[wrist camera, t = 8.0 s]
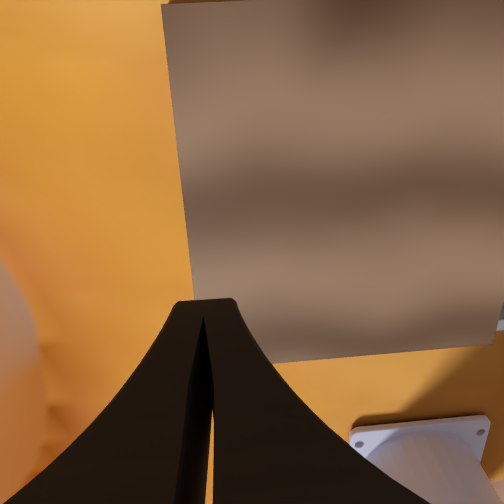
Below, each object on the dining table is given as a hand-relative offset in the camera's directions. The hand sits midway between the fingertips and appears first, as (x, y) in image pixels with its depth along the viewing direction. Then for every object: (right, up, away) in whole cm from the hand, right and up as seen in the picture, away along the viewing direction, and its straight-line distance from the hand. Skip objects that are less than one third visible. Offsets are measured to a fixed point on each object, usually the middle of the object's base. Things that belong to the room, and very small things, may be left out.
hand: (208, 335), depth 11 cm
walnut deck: (+5, +5, +9) cm, 11 cm away
